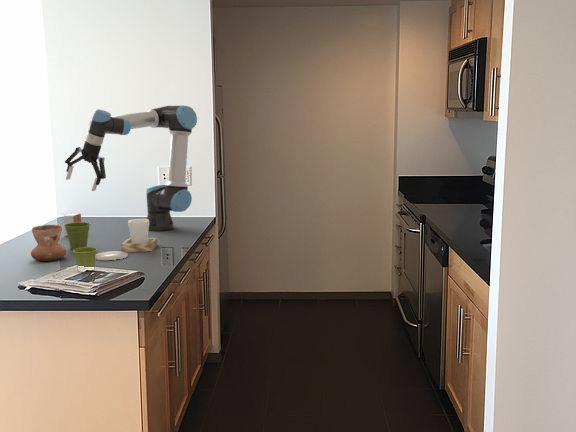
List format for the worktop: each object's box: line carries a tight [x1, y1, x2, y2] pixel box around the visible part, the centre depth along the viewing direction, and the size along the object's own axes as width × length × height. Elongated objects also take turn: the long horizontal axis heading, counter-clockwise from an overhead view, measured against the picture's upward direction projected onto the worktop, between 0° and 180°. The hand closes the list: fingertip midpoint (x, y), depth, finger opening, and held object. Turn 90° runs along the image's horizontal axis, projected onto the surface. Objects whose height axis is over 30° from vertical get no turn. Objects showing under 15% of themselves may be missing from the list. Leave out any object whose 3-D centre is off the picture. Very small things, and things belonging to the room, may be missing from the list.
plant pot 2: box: [72, 246, 98, 268], centre depth 270 cm, size 9×9×9 cm
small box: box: [62, 212, 82, 237], centre depth 342 cm, size 8×6×10 cm
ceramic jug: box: [30, 224, 67, 262], centre depth 290 cm, size 18×14×14 cm
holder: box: [120, 237, 158, 253], centre depth 309 cm, size 13×13×4 cm
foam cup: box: [127, 218, 150, 244], centre depth 308 cm, size 10×9×13 cm
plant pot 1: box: [63, 221, 91, 250], centre depth 311 cm, size 12×12×11 cm
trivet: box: [95, 250, 129, 261], centre depth 293 cm, size 14×14×1 cm
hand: (80, 184), depth 314 cm, fingers open, 13 cm apart
